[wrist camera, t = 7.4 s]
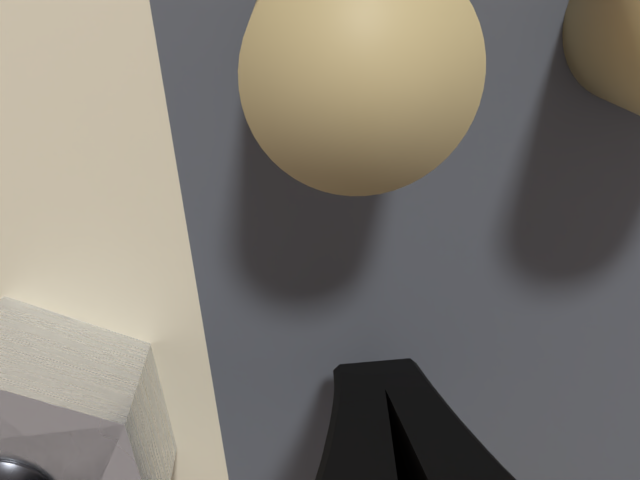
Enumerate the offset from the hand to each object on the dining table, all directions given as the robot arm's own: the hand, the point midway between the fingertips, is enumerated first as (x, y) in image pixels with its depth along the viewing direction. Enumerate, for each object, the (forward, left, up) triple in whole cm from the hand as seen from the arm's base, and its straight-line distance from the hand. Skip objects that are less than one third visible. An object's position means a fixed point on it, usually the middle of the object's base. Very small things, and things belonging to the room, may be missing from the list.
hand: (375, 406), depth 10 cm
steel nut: (0, +6, -1) cm, 6 cm away
